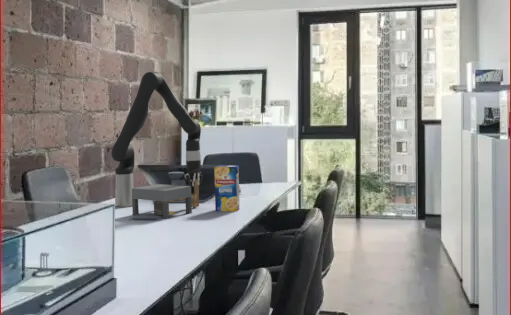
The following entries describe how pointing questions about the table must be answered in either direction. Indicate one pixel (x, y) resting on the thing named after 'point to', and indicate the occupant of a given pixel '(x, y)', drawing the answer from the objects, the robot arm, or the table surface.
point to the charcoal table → (161, 196)
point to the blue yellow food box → (227, 188)
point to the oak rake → (194, 198)
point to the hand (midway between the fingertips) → (194, 192)
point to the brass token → (171, 212)
